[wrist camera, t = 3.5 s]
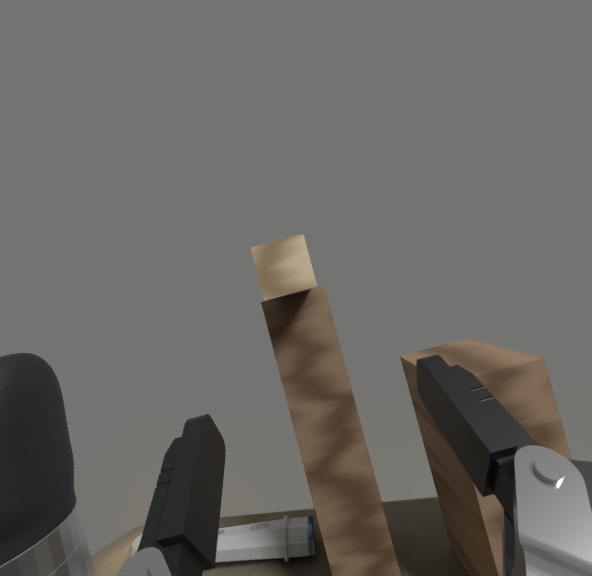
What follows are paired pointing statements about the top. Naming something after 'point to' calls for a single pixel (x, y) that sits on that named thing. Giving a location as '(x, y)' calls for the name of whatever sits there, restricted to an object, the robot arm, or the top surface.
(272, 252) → the oak rail
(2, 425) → the robot arm
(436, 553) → the top surface
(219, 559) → the white tube with head
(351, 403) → the walnut post
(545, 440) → the low walnut block
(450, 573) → the top surface
